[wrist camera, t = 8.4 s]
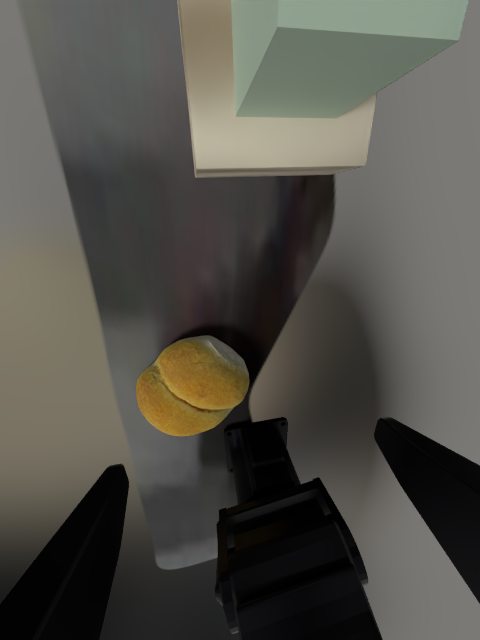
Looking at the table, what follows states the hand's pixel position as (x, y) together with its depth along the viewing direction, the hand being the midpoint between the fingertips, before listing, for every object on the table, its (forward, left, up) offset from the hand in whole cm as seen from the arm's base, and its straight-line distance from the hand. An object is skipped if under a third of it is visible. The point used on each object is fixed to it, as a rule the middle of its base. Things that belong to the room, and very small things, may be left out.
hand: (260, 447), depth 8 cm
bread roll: (-6, +3, -12) cm, 14 cm away
